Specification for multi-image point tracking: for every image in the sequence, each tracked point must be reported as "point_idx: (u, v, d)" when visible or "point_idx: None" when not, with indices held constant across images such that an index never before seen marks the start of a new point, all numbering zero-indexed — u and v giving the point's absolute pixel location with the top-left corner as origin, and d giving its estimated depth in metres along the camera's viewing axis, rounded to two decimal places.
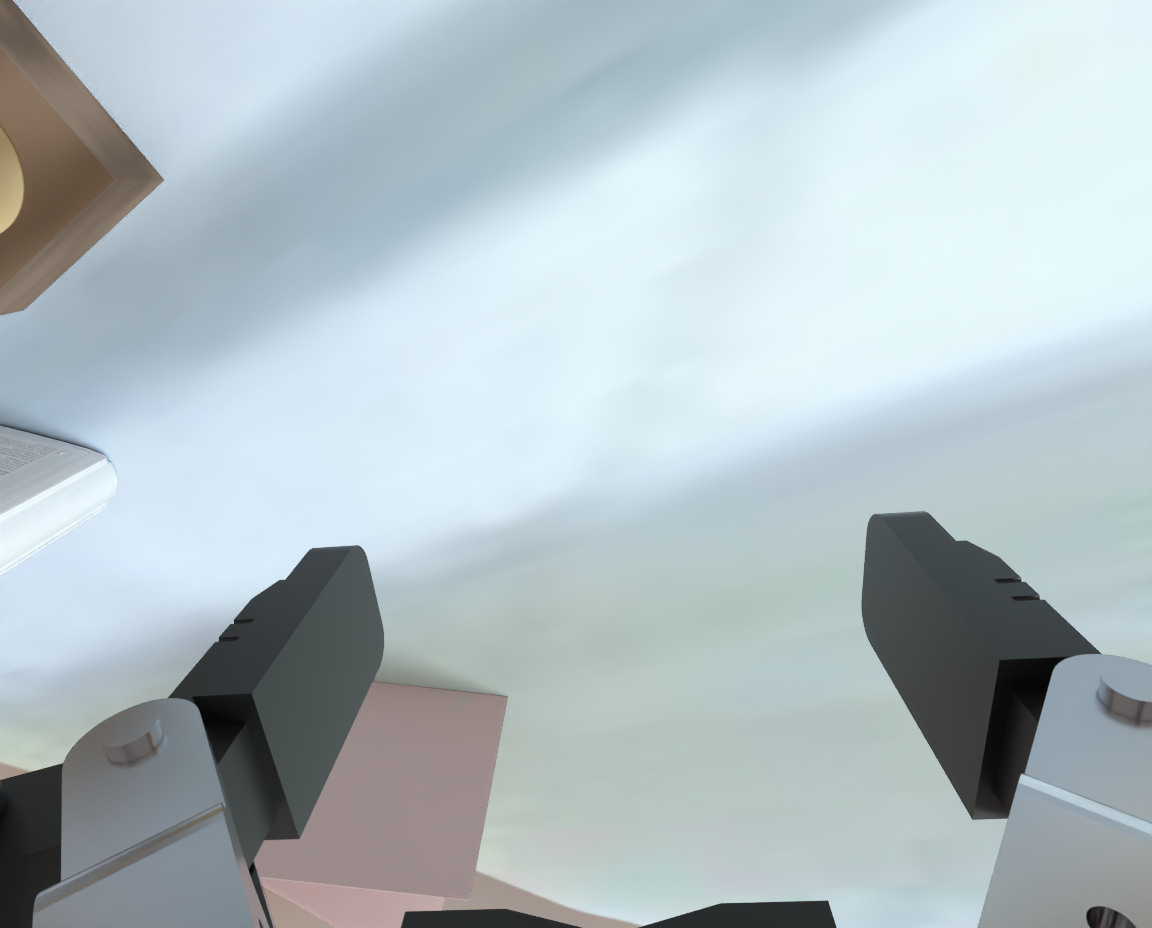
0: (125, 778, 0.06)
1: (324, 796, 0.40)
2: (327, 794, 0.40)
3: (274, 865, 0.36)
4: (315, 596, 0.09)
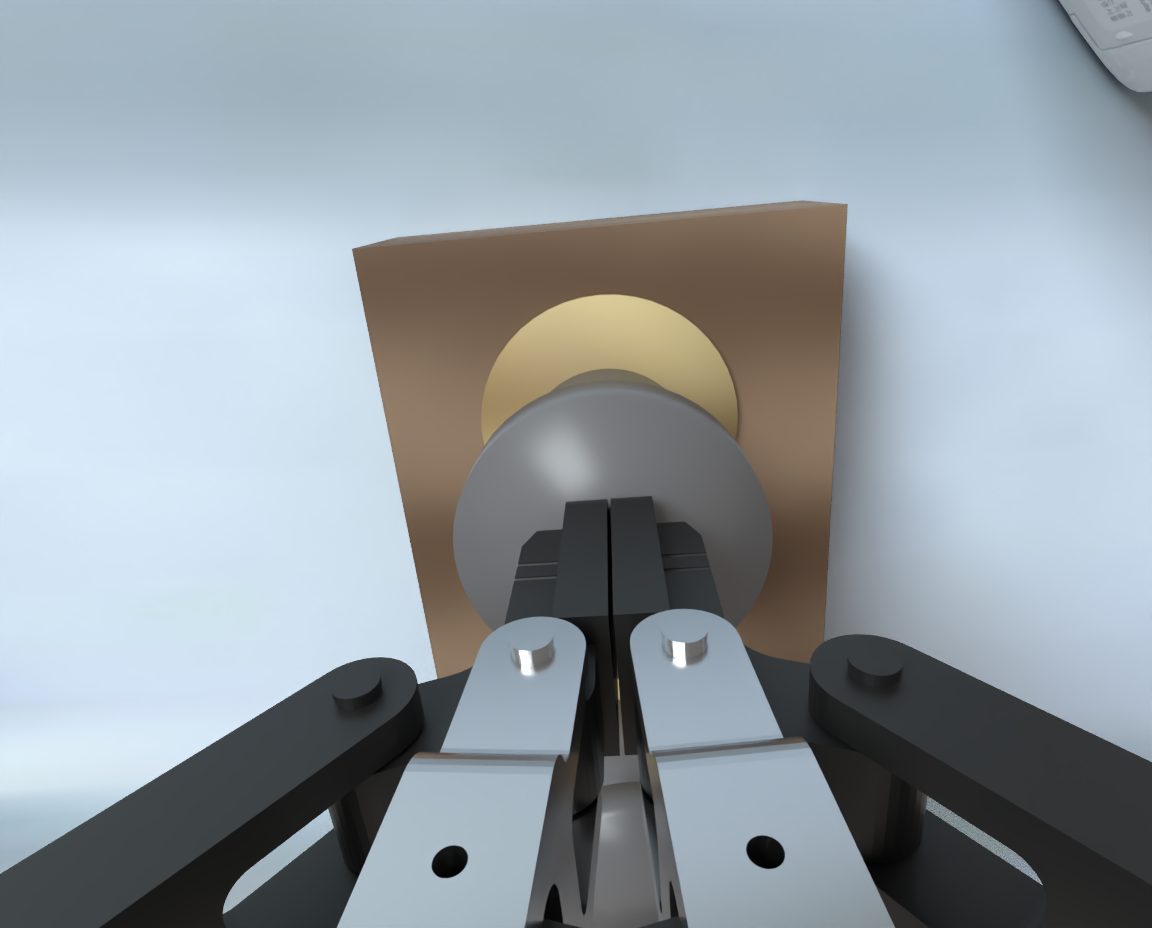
0: (551, 678, 0.07)
1: None
2: None
3: None
4: (602, 539, 0.10)
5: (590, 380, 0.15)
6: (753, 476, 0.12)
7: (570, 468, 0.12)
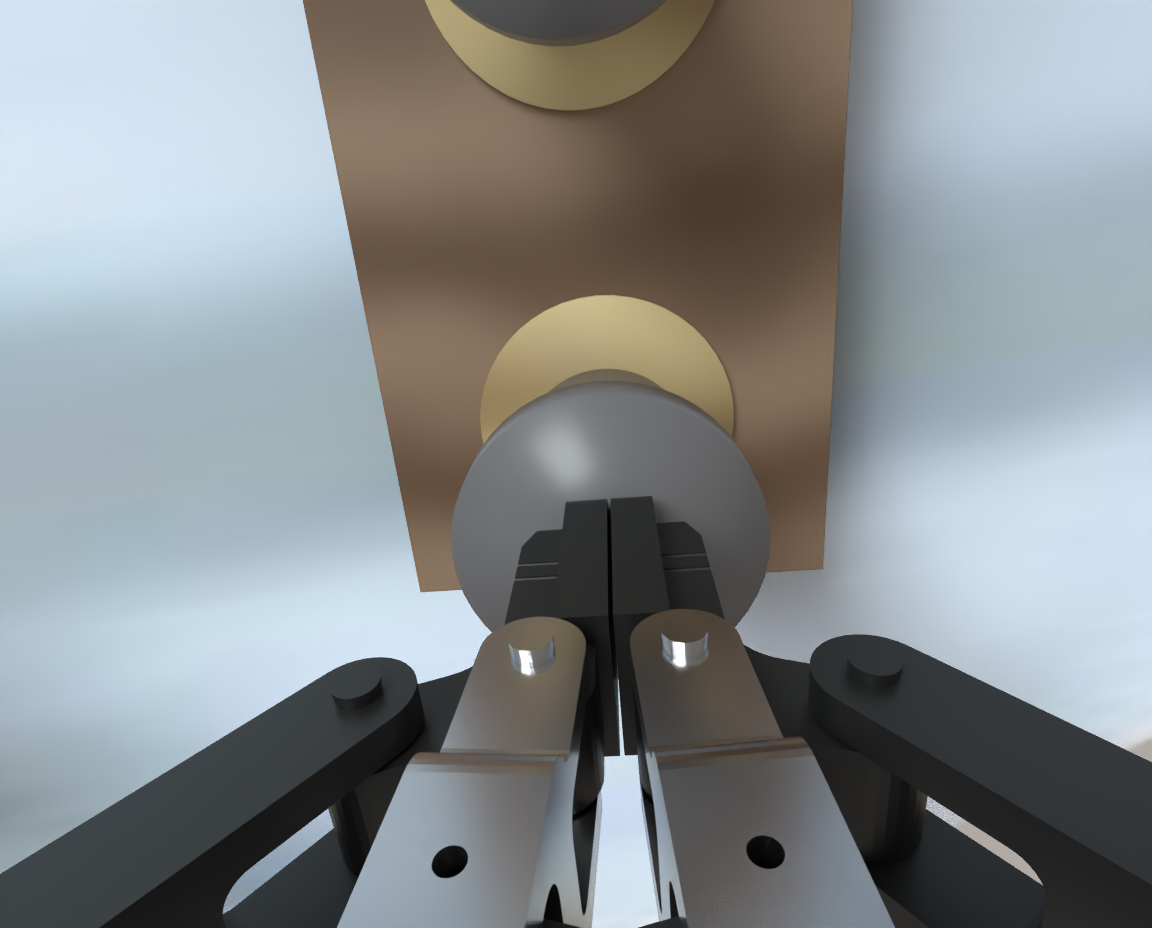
0: (552, 678, 0.07)
1: None
2: None
3: None
4: (602, 539, 0.10)
5: None
6: None
7: None
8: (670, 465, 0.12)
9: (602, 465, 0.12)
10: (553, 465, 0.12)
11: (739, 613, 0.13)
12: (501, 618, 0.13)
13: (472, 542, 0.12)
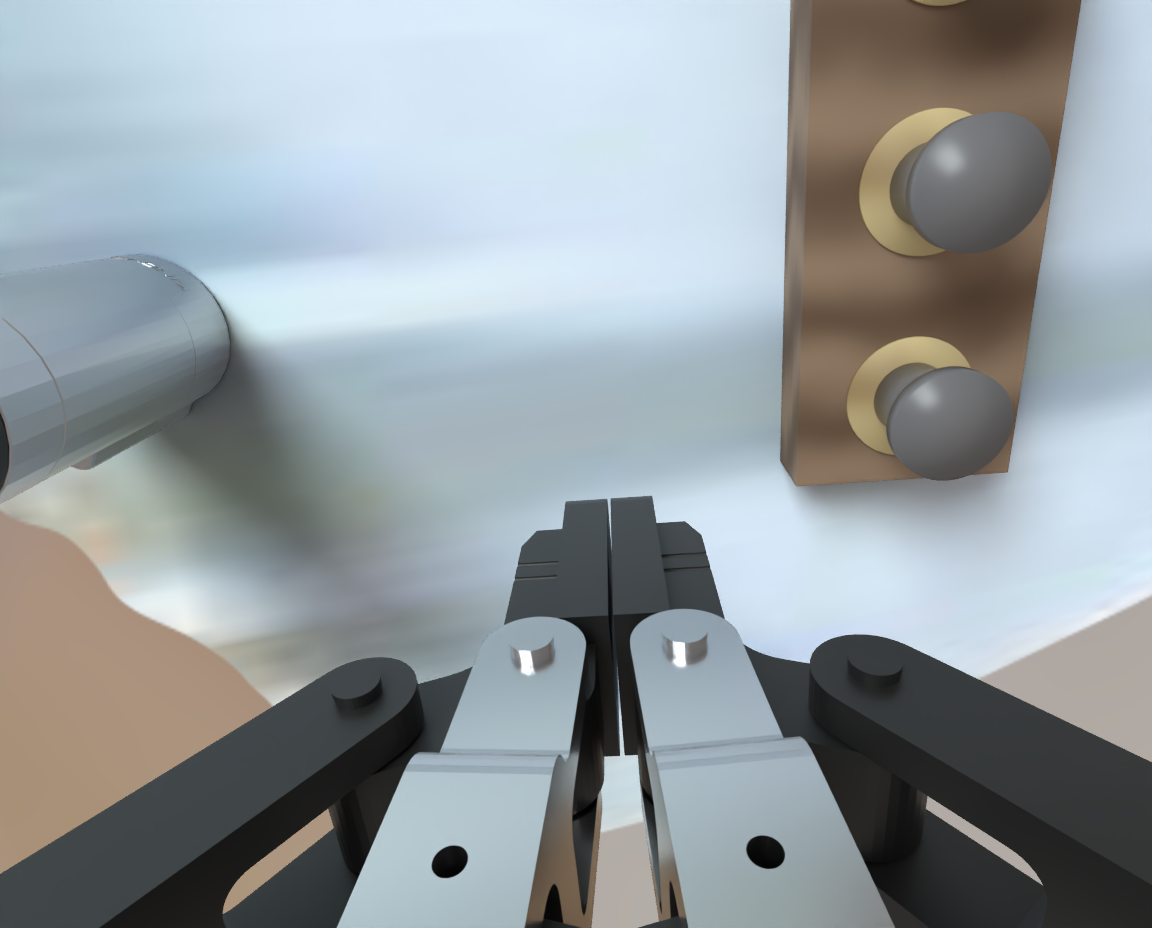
0: (552, 678, 0.07)
1: None
2: None
3: None
4: (602, 539, 0.10)
5: None
6: None
7: None
8: (981, 395, 0.33)
9: (956, 395, 0.33)
10: (939, 395, 0.33)
11: (997, 452, 0.34)
12: (907, 455, 0.34)
13: (903, 425, 0.34)
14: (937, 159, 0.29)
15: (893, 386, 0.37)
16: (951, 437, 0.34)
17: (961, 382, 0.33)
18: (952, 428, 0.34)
